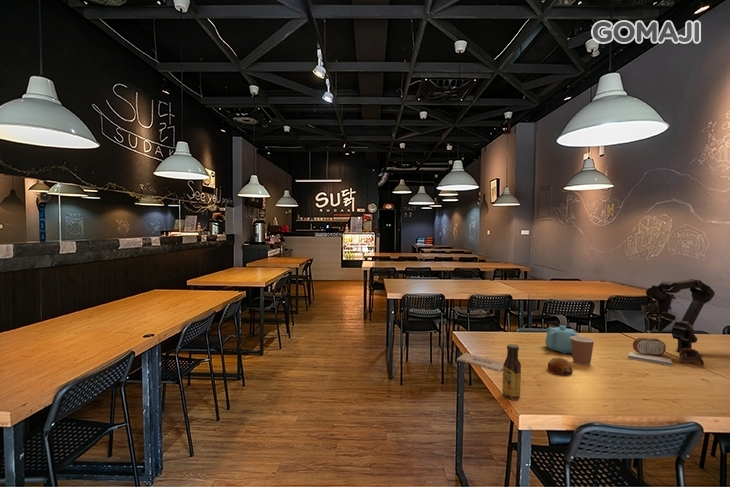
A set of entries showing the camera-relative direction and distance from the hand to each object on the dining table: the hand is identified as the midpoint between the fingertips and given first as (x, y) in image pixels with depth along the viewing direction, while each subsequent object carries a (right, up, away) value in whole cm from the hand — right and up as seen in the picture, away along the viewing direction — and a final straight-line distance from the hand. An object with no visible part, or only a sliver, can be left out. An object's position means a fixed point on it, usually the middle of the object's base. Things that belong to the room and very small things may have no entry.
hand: (654, 331), depth 185 cm
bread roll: (-65, -12, -26) cm, 71 cm away
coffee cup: (-48, -12, -14) cm, 51 cm away
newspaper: (-97, -12, -14) cm, 98 cm away
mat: (-9, -12, -8) cm, 17 cm away
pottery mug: (+7, -13, -13) cm, 19 cm away
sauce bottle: (-98, -12, -53) cm, 112 cm away
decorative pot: (-46, -12, +5) cm, 48 cm away
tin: (-3, -12, -1) cm, 13 cm away
